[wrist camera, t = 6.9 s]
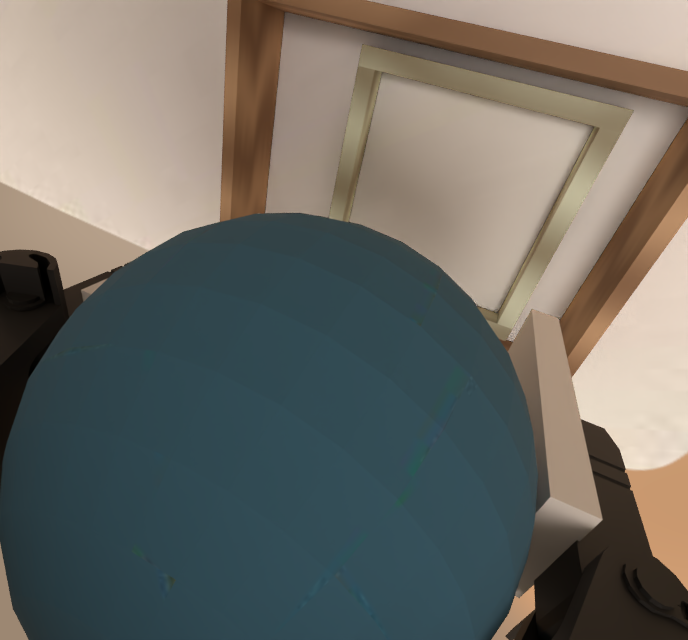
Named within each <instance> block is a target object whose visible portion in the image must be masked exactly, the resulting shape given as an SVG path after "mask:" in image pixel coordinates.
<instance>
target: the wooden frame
mask: <svg viewBox="0 0 688 640" xmlns="http://www.w3.org/2000/svg"><path fill="white" fill-rule="evenodd" d="M285 12H289V13H293V14H297V15H301V16H306V17H310V18H314V19H318V20H323V21H327V22H331V23H335V24H339V25H344V26H348V27H352V28H356V29H361V30H365V31H369V32H373V33H377V34H382V35H386V36H390V37H394V38H399V39H403V40H407V41H411V42H415V43H420V44H424V45H428V46H432V47H437V48H441V49H445V50H449V51H453V52H458V53H462V54H466V55H470V56H475V57H479V58H483V59H487V60H491V61H496V62H500V63H504V64H508V65H513V66H517V67H521V68H525V69H529V70H534V71H538V72H542V73H546V74H551V75H555V76H559V77H563V78H568V79H572V80H576V81H580V82H584V83H589V84H593V85H597V86H601V87H606V88H610V89H614V90H618V91H622V92H627V93H631V94H635V95H639V96H644V97H648V98H652V99H656V100H660V101H665V102H669V103H673V104H677V105H682V106H686V107H688V71H683V70H679V69H674V68H670V67H665V66H661V65H656V64H652V63H647V62H643V61H638V60H633V59H629V58H624V57H620V56H615V55H611V54H606V53H602V52H597V51H593V50H588V49H584V48H579V47H574V46H570V45H565V44H561V43H556V42H552V41H547V40H543V39H538V38H534V37H529V36H525V35H520V34H516V33H511V32H506V31H502V30H497V29H493V28H488V27H484V26H479V25H475V24H470V23H466V22H461V21H457V20H452V19H448V18H443V17H438V16H434V15H429V14H425V13H420V12H416V11H411V10H407V9H402V8H398V7H393V6H389V5H384V4H379V3H375V2H370V1H366V0H228V4H227V33H226V62H225V91H224V120H223V149H222V178H221V207H220V222H222V221H226V220H230V219H235V218H239V217H243V216H248V215H252V214H258V213H260V214H265V205H266V195H267V185H268V175H269V165H270V154H271V144H272V134H273V124H274V114H275V104H276V94H277V84H278V74H279V64H280V54H281V44H282V34H283V24H284V14H285ZM382 72H385V73H389V74H393V75H397V76H400V77H404V78H408V79H412V80H416V81H420V82H424V83H428V84H432V85H436V86H439V87H443V88H447V89H451V90H455V91H459V92H463V93H467V94H471V95H475V96H478V97H482V98H486V99H490V100H494V101H498V102H502V103H506V104H510V105H514V106H517V107H521V108H525V109H529V110H533V111H537V112H541V113H545V114H549V115H553V116H556V117H560V118H564V119H568V120H572V121H576V122H580V123H584V124H588V125H591V126H595V127H594V129H593V131H592V133H591V134H590V136H589V138H588V140H587V142H586V144H585V146H584V148H583V150H582V152H581V154H580V156H579V158H578V160H577V162H576V163H575V165H574V167H573V169H572V171H571V173H570V175H569V177H568V179H567V181H566V183H565V185H564V187H563V189H562V191H561V192H560V194H559V196H558V198H557V200H556V202H555V204H554V206H553V208H552V210H551V212H550V214H549V216H548V218H547V220H546V222H545V223H544V225H543V227H542V229H541V231H540V233H539V235H538V237H537V239H536V241H535V243H534V245H533V247H532V249H531V251H530V252H529V254H528V256H527V258H526V260H525V262H524V264H523V266H522V268H521V270H520V272H519V274H518V276H517V278H516V280H515V281H514V283H513V285H512V287H511V289H510V291H509V293H508V295H507V297H506V299H505V301H504V303H503V305H502V307H501V309H500V310H499V312H498V313H495V312H492V311H489V310H486V309H484V308H481V307H478V306H477V307H478V309H479V310H480V312H481V313H482V315H483V316H484V318H485V319H486V321H487V322H488V324H489V325H490V327H491V328H492V330H493V331H494V332H495V334H496V335H497V337H498V338H499V340H500V341H501V343H502V344H503V346H504V347H505V349H506V350H507V352H508V350H509V349H510V347H511V345H512V343H513V342H510V341H508V340H507V338H508V336H509V334H510V332H511V331H512V329H513V327H514V325H515V323H516V322H517V320H518V318H519V316H520V314H521V313H522V311H523V309H524V307H525V305H526V304H527V302H528V300H529V298H530V296H531V295H532V293H533V291H534V289H535V287H536V286H537V284H538V282H539V280H540V278H541V277H542V275H543V273H544V271H545V269H546V268H547V266H548V264H549V262H550V260H551V259H552V257H553V255H554V253H555V251H556V250H557V248H558V246H559V244H560V243H561V241H562V239H563V237H564V235H565V234H566V232H567V230H568V228H569V226H570V225H571V223H572V221H573V219H574V217H575V216H576V214H577V212H578V210H579V208H580V207H581V205H582V203H583V201H584V199H585V198H586V196H587V194H588V192H589V190H590V189H591V187H592V185H593V183H594V181H595V180H596V178H597V176H598V174H599V172H600V171H601V169H602V167H603V165H604V163H605V162H606V160H607V158H608V156H609V154H610V153H611V151H612V149H613V147H614V145H615V144H616V142H617V140H618V138H619V136H620V135H621V133H622V131H623V129H624V128H625V126H626V124H627V122H628V120H629V119H630V117H631V115H632V113H633V111H634V110H630V109H626V108H622V107H617V106H613V105H609V104H605V103H601V102H597V101H593V100H589V99H585V98H581V97H577V96H572V95H568V94H564V93H560V92H556V91H552V90H548V89H544V88H540V87H536V86H532V85H527V84H523V83H519V82H515V81H511V80H507V79H503V78H499V77H495V76H491V75H487V74H482V73H478V72H474V71H470V70H466V69H462V68H458V67H454V66H450V65H446V64H442V63H437V62H433V61H429V60H425V59H421V58H417V57H413V56H409V55H405V54H401V53H397V52H392V51H388V50H384V49H380V48H376V47H372V46H368V45H364V44H362V49H361V54H360V59H359V64H358V69H357V74H356V80H355V85H354V90H353V95H352V100H351V105H350V110H349V116H348V121H347V126H346V131H345V136H344V141H343V146H342V152H341V157H340V162H339V167H338V172H337V177H336V182H335V188H334V193H333V198H332V203H331V208H330V213H329V218H331V219H335V220H340V221H345V222H349V217H350V213H351V208H352V204H353V199H354V195H355V190H356V186H357V182H358V177H359V173H360V168H361V164H362V159H363V155H364V150H365V146H366V142H367V137H368V133H369V128H370V124H371V119H372V115H373V110H374V106H375V102H376V97H377V93H378V88H379V84H380V79H381V75H382ZM687 217H688V118H687V120H686V122H685V123H684V125H683V126H682V128H681V130H680V131H679V133H678V134H677V136H676V137H675V139H674V141H673V142H672V144H671V145H670V147H669V149H668V150H667V152H666V153H665V155H664V156H663V158H662V160H661V161H660V163H659V164H658V166H657V168H656V169H655V171H654V172H653V174H652V175H651V177H650V179H649V180H648V182H647V183H646V185H645V187H644V188H643V190H642V191H641V193H640V194H639V196H638V198H637V199H636V201H635V202H634V204H633V206H632V207H631V209H630V210H629V212H628V214H627V215H626V217H625V218H624V220H623V221H622V223H621V225H620V226H619V228H618V229H617V231H616V233H615V234H614V236H613V237H612V239H611V240H610V242H609V244H608V245H607V247H606V248H605V250H604V252H603V253H602V255H601V256H600V258H599V259H598V261H597V263H596V264H595V266H594V267H593V269H592V271H591V272H590V274H589V275H588V277H587V278H586V280H585V282H584V283H583V285H582V286H581V288H580V290H579V291H578V293H577V294H576V296H575V297H574V299H573V301H572V302H571V304H570V305H569V307H568V309H567V310H566V312H565V313H564V315H563V317H562V318H561V320H560V321H559V323H560V327H561V332H562V336H563V341H564V346H565V350H566V355H567V359H568V364H569V368H570V373H571V377H572V376H573V375H574V374H575V372H576V371H577V370H578V368H579V367H580V365H581V364H582V363H583V361H584V360H585V358H586V357H587V356H588V354H589V353H590V352H591V350H592V349H593V347H594V346H595V345H596V343H597V342H598V340H599V339H600V338H601V336H602V335H603V334H604V332H605V331H606V329H607V328H608V327H609V325H610V324H611V322H612V321H613V320H614V318H615V317H616V316H617V314H618V313H619V311H620V310H621V309H622V307H623V306H624V305H625V303H626V302H627V300H628V299H629V298H630V296H631V295H632V293H633V292H634V291H635V289H636V288H637V287H638V285H639V284H640V282H641V281H642V280H643V278H644V277H645V275H646V274H647V273H648V271H649V270H650V269H651V267H652V266H653V264H654V263H655V262H656V260H657V259H658V257H659V256H660V255H661V253H662V252H663V251H664V249H665V248H666V246H667V245H668V244H669V242H670V241H671V240H672V238H673V237H674V235H675V234H676V233H677V231H678V230H679V228H680V227H681V226H682V224H683V223H684V222H685V220H686V219H687Z"/></svg>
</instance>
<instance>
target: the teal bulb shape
mask: <svg viewBox="0 0 688 640" xmlns="http://www.w3.org/2000/svg"><path fill="white" fill-rule="evenodd" d="M537 484H538V470H537V461H536V452H535V443H534V435H533V429H532V424H531V420H530V415H529V411H528V406H527V402H526V397H525V394H524V391H523V389H522V386H521V384H520V381H519V379H518V376H517V373H516V371H515V368H514V366H513V363H512V361H511V358H510V355H509V353H508V352H507V350H506V349H505V347H504V346H503V344H502V343H501V341H500V340H499V338H498V337H497V335H496V334H495V332H494V331H493V330H492V328H491V327H490V325H489V324H488V322H487V321H486V319H485V318H484V316H483V315H482V313H481V312H480V310H479V309H478V307H477V306H476V304H475V303H474V301H473V300H472V299H471V298H470V297H469V296H468V295H467V294H466V293H465V292H464V291H463V290H462V289H461V288H460V287H459V286H458V285H457V284H456V283H455V282H454V281H453V280H452V279H451V278H450V277H449V276H448V275H447V274H446V273H445V272H444V271H443V270H442V269H441V268H440V267H439V266H437V265H436V264H434V263H433V262H431V261H430V260H428V259H427V258H425V257H424V256H422V255H421V254H419V253H418V252H416V251H415V250H413V249H412V248H410V247H409V246H407V245H406V244H404V243H403V242H401V241H398V240H396V239H394V238H391V237H389V236H387V235H384V234H382V233H379V232H377V231H375V230H372V229H370V228H368V227H365V226H363V225H360V224H355V223H350V222H345V221H340V220H335V219H331V218H326V217H321V216H315V215H309V214H302V213H266V214H252V215H248V216H243V217H239V218H235V219H230V220H226V221H222V222H218V223H214V224H211V225H207V226H203V227H199V228H196V229H192V230H188V231H184V232H182V233H180V234H179V235H177V236H175V237H173V238H171V239H170V240H168V241H166V242H164V243H162V244H161V245H159V246H157V247H155V248H154V249H152V250H150V251H148V252H146V253H145V254H143V255H142V256H140V257H138V258H137V259H135V260H133V261H132V262H130V263H128V264H127V265H125V266H124V267H122V268H120V269H119V270H117V271H115V272H114V273H113V274H112V275H111V276H110V277H109V278H108V279H107V280H106V281H105V282H104V283H103V284H102V285H100V286H99V287H98V288H97V289H96V290H95V291H94V292H93V293H92V294H91V295H90V296H89V297H88V298H87V299H86V300H85V301H84V302H83V303H82V304H81V305H80V306H79V307H77V309H76V310H75V311H74V312H73V314H72V315H71V316H70V318H69V319H68V320H67V321H66V323H65V324H64V325H63V327H62V328H61V329H60V330H59V332H58V333H57V335H56V336H55V338H54V340H53V341H52V343H51V344H50V346H49V347H48V349H47V351H46V352H45V354H44V355H43V357H42V358H41V360H40V362H39V363H38V365H37V366H36V368H35V369H34V371H33V373H32V374H31V376H30V377H29V379H28V381H27V384H26V387H25V390H24V393H23V396H22V399H21V402H20V405H19V408H18V411H17V414H16V417H15V420H14V423H13V426H12V429H11V432H10V435H9V438H8V441H7V444H6V448H5V452H4V457H3V463H2V476H1V489H0V543H1V549H2V554H3V559H4V564H5V569H6V575H7V580H8V586H9V591H10V596H11V602H12V606H13V610H14V612H15V614H16V615H17V617H18V619H19V621H20V623H21V625H22V627H23V629H24V631H25V633H26V635H27V637H28V639H29V640H491V639H492V637H493V636H494V635H495V633H496V632H497V630H498V629H499V627H500V626H501V624H502V622H503V621H504V620H505V618H506V617H507V615H508V614H509V610H510V608H511V605H512V602H513V599H514V596H515V594H516V591H517V588H518V585H519V582H520V579H521V576H522V574H523V571H524V568H525V565H526V562H527V558H528V553H529V549H530V544H531V539H532V534H533V529H534V524H535V511H536V498H537Z"/></svg>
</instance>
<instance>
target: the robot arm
mask: <svg viewBox="0 0 688 640" xmlns="http://www.w3.org/2000/svg"><path fill="white" fill-rule="evenodd" d="M258 214H260V213H258ZM127 264H128V263H127ZM127 264H125V265H127ZM125 265H124V266H125ZM122 267H123V266H120V267H118V268H115V269H112V270H111V272H105V273H103V274H100V275H98V276H96V277H93V278H91V279H88V280H86V281H83V282H81V283H79V284H76V285H74V286H71V287H69V288H67V289H64V290H63V286H62V281H61V277H60V273H59V268H58V264H57V261H56V258H54V257H53V256H51V255H50V254H47V253H43V252H40V251H34V250H9V251H2V252H0V489H1V476H2V463H3V457H4V452H5V448H6V444H7V441H8V438H9V435H10V432H11V429H12V426H13V423H14V420H15V417H16V414H17V411H18V408H19V405H20V402H21V399H22V396H23V393H24V390H25V387H26V384H27V381H28V379H29V377H30V376H31V374H32V373H33V371H34V369H35V368H36V366H37V365H38V363H39V362H40V360H41V358H42V357H43V355H44V354H45V352H46V351H47V349H48V347H49V346H50V344H51V343H52V341H53V340H54V338H55V336H56V335H57V333H58V332H59V330H60V329H61V328H62V327H63V325H64V324H65V323H66V321H67V320H68V319H69V318H70V316H71V315H72V314H73V312H74V311H75V310H76V309H77V307H79V306H80V305H81V304H82V303H83V302H84V301H85V300H86V299H87V298H88V297H89V296H90V295H91V294H92V293H93V292H94V291H95V290H96V289H97V288H98V287H99V286H100V285H102V284H103V283H104V282H105V281H106V280H107V279H108V278H109V277H110V276H111V275H112V274H113V273H114V272H115V271H117V270H119V269H120V268H122ZM508 353H509V355H510V358H511V361H512V363H513V366H514V368H515V371H516V373H517V376H518V379H519V381H520V384H521V386H522V389H523V391H524V394H525V397H526V402H527V406H528V411H529V415H530V420H531V424H532V429H533V435H534V443H535V452H536V461H537V470H538V484H537V498H536V511H535V524H534V529H533V534H532V539H531V544H530V549H529V553H528V558H527V562H526V565H525V568H524V571H523V574H522V576H521V579H520V582H519V585H518V588H517V591H516V594H515V596H517V597H518V598H520V597H521V596H522V595H523V594H524V593H525V592H526V591H527V590H528V589H529V588H530V587H532V586H533V585H534V589H535V610H534V611H532V612H531V613H530V614H529V615H528V616H527V617H526V618H524V619H523V620H522V621H521V622H520V623H519V624H517V625H516V626H515V627H514V628H513V629H512V630H511V631H510V632H509V633H508V634H507V635H506V637H507V638H508V639H509V640H688V591H687V589H686V588H685V587H684V586H683V584H682V583H681V582H680V581H679V579H678V578H677V577H676V575H674V574H673V573H672V572H671V571H670V570H669V569H668V568H667V567H666V566H664V565H663V564H662V563H661V562H660V561H659V560H658V559H657V558H655V557H653V555H652V552H651V549H650V546H649V542H648V539H647V536H646V533H645V530H644V526H643V523H642V520H641V517H640V514H639V511H638V507H637V504H636V501H635V498H634V494H633V491H631V490H630V487H631V485H630V482H629V479H628V475H627V473H625V470H626V469H625V466H624V462H623V459H622V456H621V453H620V450H619V448H618V447H617V445H616V444H615V443H614V441H613V440H612V438H611V437H610V436H609V434H608V433H607V432H606V430H605V429H604V428H601V427H599V426H596V425H594V424H591V423H589V422H586V421H584V420H581V419H580V414H579V409H578V405H577V400H576V396H575V391H574V387H573V382H572V377H571V373H570V368H569V364H568V359H567V355H566V350H565V346H564V341H563V336H562V332H561V327H560V323H559V318H556V317H553V316H550V315H548V314H545V313H542V312H539V311H536V310H533V309H532V310H531V311H530V313H529V315H528V317H527V318H526V320H525V322H524V324H523V326H522V327H521V329H520V331H519V333H518V334H517V336H516V338H515V340H514V341H513V343H512V345H511V347H510V349H509V350H508Z"/></svg>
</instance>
